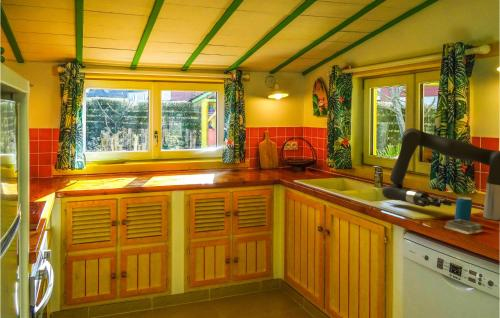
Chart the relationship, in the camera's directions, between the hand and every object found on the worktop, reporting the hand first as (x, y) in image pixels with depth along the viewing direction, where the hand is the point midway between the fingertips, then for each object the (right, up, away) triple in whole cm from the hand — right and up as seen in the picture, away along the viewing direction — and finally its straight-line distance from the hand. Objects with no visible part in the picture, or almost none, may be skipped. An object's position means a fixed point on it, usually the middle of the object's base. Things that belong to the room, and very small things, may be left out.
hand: (445, 204), depth 209 cm
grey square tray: (0, -9, -18) cm, 20 cm away
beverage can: (+4, -8, -7) cm, 12 cm away
